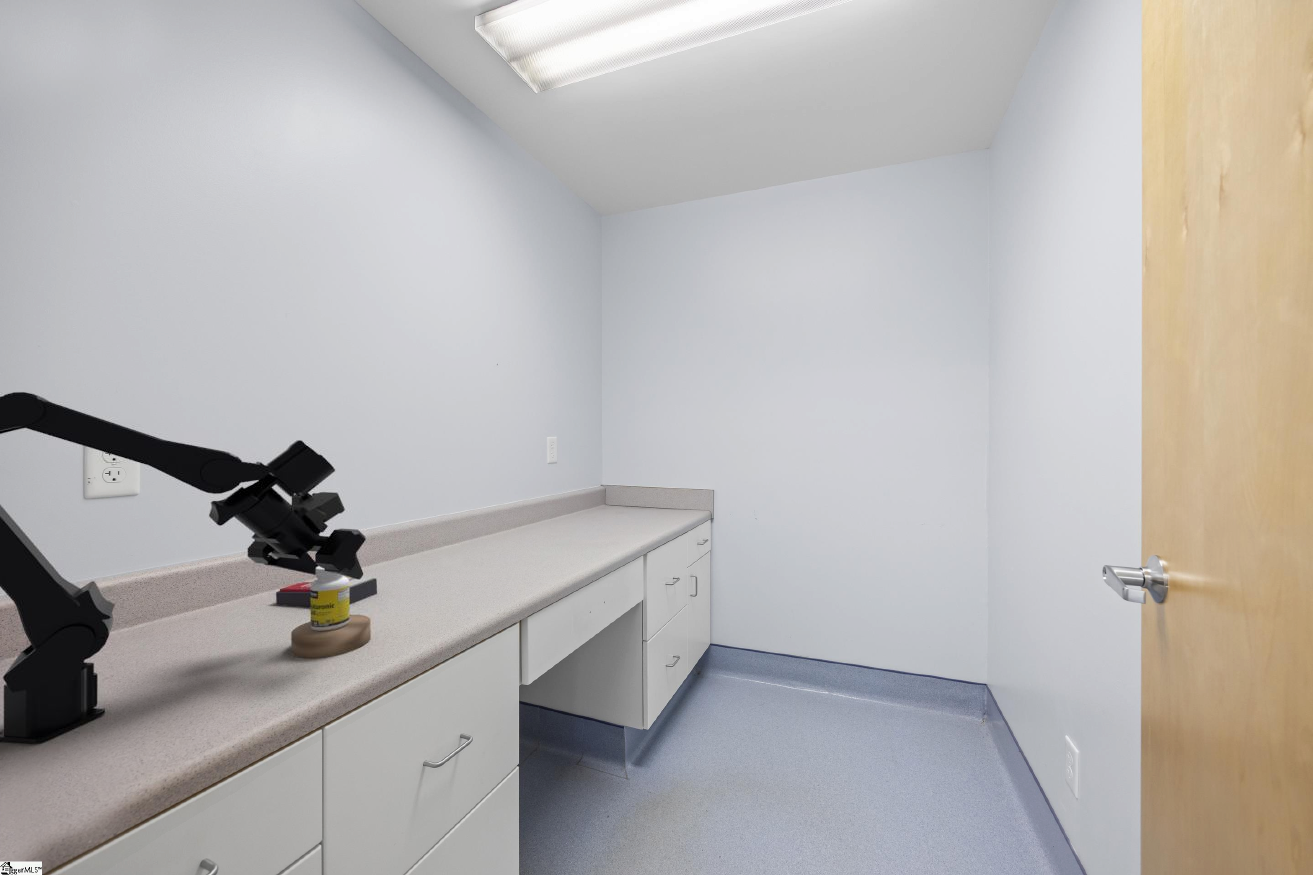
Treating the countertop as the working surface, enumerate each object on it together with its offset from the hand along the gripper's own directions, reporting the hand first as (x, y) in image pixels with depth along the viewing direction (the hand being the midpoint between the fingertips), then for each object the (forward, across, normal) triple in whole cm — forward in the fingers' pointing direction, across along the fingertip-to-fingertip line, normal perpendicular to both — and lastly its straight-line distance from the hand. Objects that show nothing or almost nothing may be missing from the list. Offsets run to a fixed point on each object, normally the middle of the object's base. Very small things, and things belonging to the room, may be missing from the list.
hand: (339, 574), depth 86 cm
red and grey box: (+20, +23, -4) cm, 31 cm away
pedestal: (+7, 0, +9) cm, 11 cm away
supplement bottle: (+5, 0, +7) cm, 8 cm away
